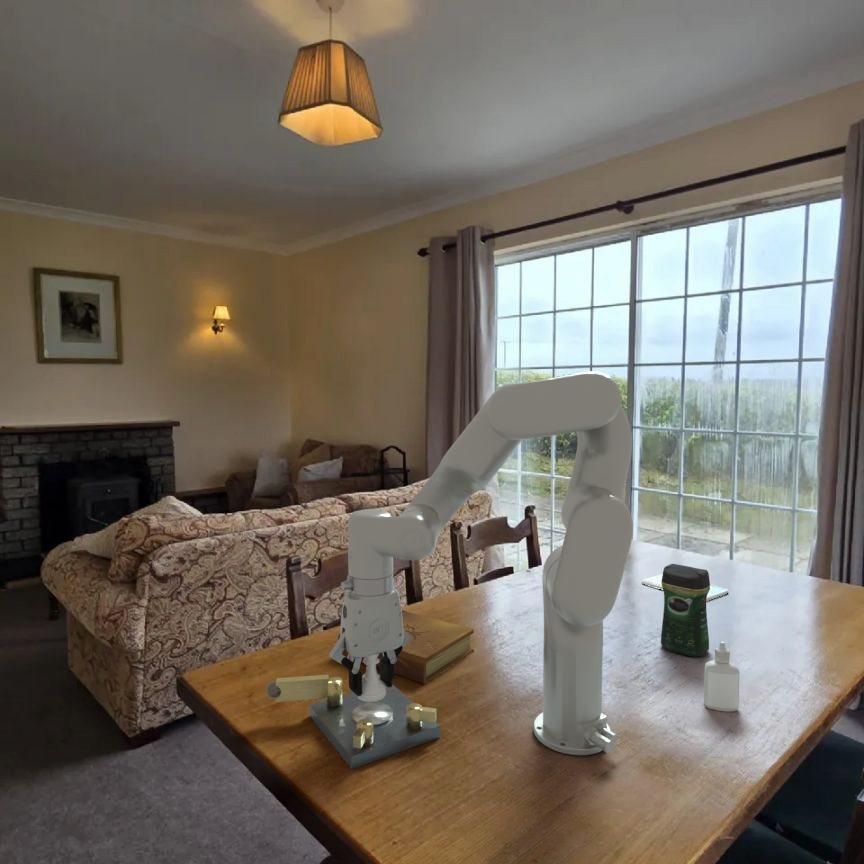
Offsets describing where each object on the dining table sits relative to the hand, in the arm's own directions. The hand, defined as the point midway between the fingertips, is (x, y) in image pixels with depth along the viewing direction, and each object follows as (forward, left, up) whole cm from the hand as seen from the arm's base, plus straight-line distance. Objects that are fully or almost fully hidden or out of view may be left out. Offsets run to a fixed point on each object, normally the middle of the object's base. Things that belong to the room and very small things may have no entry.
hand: (371, 687), depth 104 cm
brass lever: (+9, +9, -5) cm, 13 cm away
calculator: (+17, -108, -8) cm, 110 cm away
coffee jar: (-9, -72, -7) cm, 73 cm away
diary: (+22, -19, -8) cm, 30 cm away
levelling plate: (0, 0, -7) cm, 7 cm away
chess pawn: (0, 0, -2) cm, 2 cm away
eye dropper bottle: (-28, -56, -7) cm, 63 cm away
